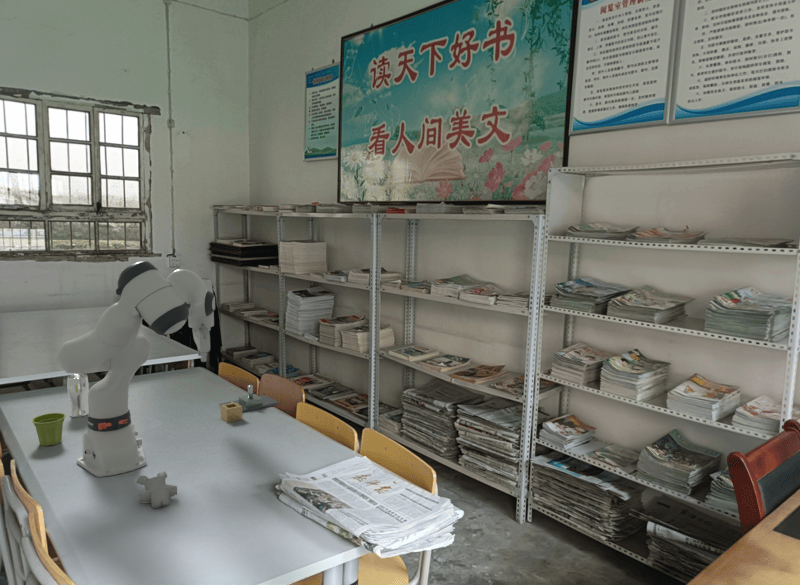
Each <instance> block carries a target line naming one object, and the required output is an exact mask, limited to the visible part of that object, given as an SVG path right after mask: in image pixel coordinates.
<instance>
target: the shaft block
mask: <svg viewBox="0 0 800 585" xmlns="http://www.w3.org/2000/svg"><path fill="white" fill-rule="evenodd" d="M234 402H236V403H237V404H239V405H241V406H242V413H246V412H250V411H255V410H258V409H260V410H261V409H264V408H269V407H274V406H279V403H280V402H279V401H278V400H276V399H274V398H271V397H270V396H268V395H266V394H261V395H257V393H256V394H255V393H254V385H253V384H248V385H247V395H241V396H238V399H236V400H232V401H226V402H223V403H222V402H221V403H219V406H220V405H224V404H229V403H234Z"/></svg>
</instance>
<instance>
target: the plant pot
mask: <svg viewBox="0 0 800 585" xmlns="http://www.w3.org/2000/svg"><path fill="white" fill-rule="evenodd" d="M65 419H66V414H65V413H63V412H52V413H44V414H41V415H38V416H35V417H34V418H32V420H31V423H33V425H34V427H35V431H36V434H37V437H38V438H37V439H38V442H39V444H40V446H44V447H47V446H48V447H49V446H50V445H53V446H54V445H57V444H59V443H61V442H62V439H63V438H62V437H63V429H64V428H63V427H64V421H65Z"/></svg>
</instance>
